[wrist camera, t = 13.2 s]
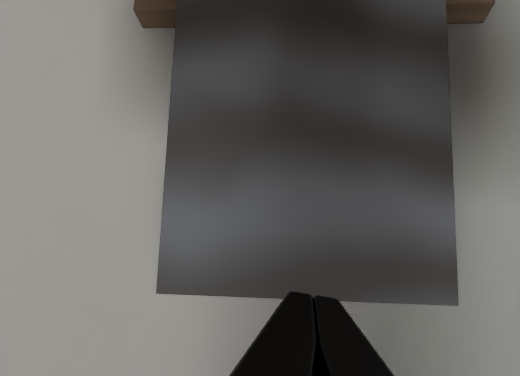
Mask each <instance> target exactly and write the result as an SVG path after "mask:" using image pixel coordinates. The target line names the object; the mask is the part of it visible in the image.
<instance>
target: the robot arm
mask: <svg viewBox="0 0 520 376" xmlns="http://www.w3.org/2000/svg"><path fill="white" fill-rule="evenodd" d="M229 376H394V375H393V374H392V372H391V371H390V369H389V368H388V367H387V365H386V364H385V363H384V361H383V360H382V359H381V357H380V356H379V355H378V353H377V352H376V351H375V349H374V348H373V346H372V345H371V344H370V342H369V341H368V340H367V338H366V337H365V336H364V334H363V333H362V332H361V330H360V329H359V328H358V326H357V325H356V324H355V322H354V321H353V319H352V318H351V317H350V315H349V314H348V313H347V311H346V310H345V309H344V307H343V306H342V305H341V303H340V302H339V301H338V300H337V299H336V298H332V297H326V296H320V295H315V296H314V297H312V296H311V295H310V294H308V293H301V292H295V291H290V292H289V293H288V294H287V295H286V296H285V298H284V299H283V301H282V302H281V303H280V305H279V306H278V308H277V309H276V310H275V312H274V313H273V315H272V316H271V318H270V319H269V320H268V322H267V323H266V325H265V326H264V327H263V329H262V330H261V332H260V333H259V334H258V336H257V337H256V339H255V340H254V342H253V343H252V344H251V346H250V347H249V349H248V350H247V351H246V353H245V354H244V356H243V357H242V359H241V360H240V361H239V363H238V364H237V366H236V367H235V368H234V370H233V371H232V373H231V374H230V375H229Z"/></svg>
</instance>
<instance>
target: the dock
mask: <svg viewBox="0 0 520 376" xmlns="http://www.w3.org/2000/svg"><path fill="white" fill-rule="evenodd" d="M494 3H495V0H135V2H134V9H133V10H134V12H135V14H136V15H137V17H138V19H139V21H140V23H141V25H142V27H143V28H170V27H175V39H174V53H173V67H172V81H171V95H170V109H169V123H168V137H167V151H166V165H165V178H164V192H163V206H162V220H161V234H160V248H159V262H158V276H157V290H156V293H158V294H182V295H207V296H232V297H257V298H282V299H284V298H285V296H286V295H287V294H288V293H289V292H290V291H295V292H301V293H308V294H310V295H311V296H312V297H314V296H315V295H320V296H326V297H332V298H336V299H337V300H338V301H356V302H381V303H406V304H431V305H456V306H458V284H457V259H456V235H455V211H454V187H453V162H452V138H451V114H450V90H449V65H448V41H447V23H483V22H484V20H485V18H486V17H487V15H488V13H489V12H490V10H491V8H492V7H493V5H494Z"/></svg>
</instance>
